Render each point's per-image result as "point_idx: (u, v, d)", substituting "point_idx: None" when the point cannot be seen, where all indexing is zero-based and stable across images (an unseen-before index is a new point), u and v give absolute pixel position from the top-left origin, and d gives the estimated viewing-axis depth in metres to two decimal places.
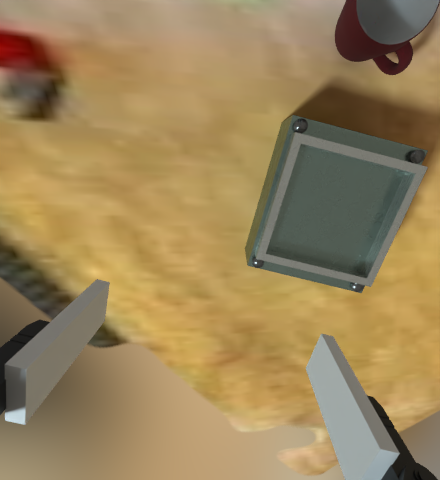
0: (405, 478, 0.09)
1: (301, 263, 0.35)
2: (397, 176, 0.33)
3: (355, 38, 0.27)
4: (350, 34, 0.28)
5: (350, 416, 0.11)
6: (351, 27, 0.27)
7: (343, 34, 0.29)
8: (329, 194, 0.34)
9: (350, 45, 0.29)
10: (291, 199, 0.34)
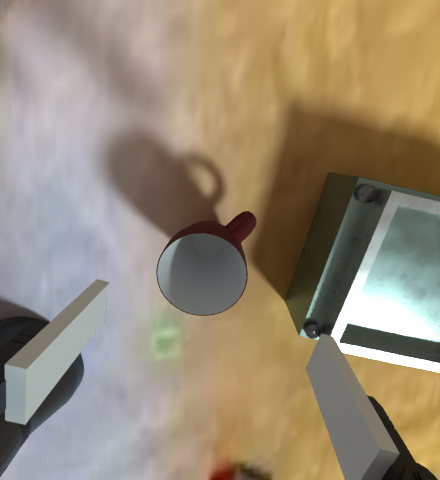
0: (405, 478, 0.09)
1: None
2: None
3: None
4: None
5: (350, 416, 0.11)
6: None
7: None
8: (397, 289, 0.26)
9: None
10: (396, 330, 0.28)
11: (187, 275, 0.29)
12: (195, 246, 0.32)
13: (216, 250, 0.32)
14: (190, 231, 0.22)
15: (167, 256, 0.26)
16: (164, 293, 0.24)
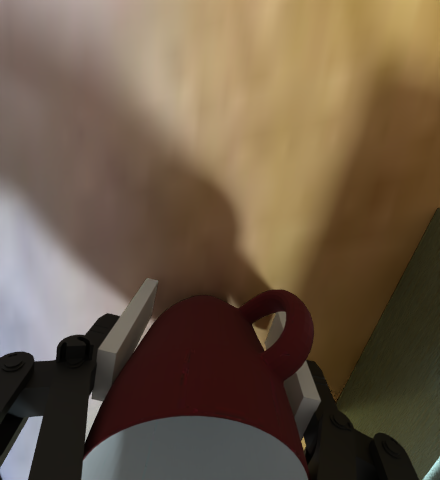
0: (323, 424, 0.10)
1: None
2: None
3: None
4: None
5: None
6: None
7: None
8: None
9: None
10: None
11: None
12: None
13: None
14: (162, 394, 0.08)
15: None
16: None
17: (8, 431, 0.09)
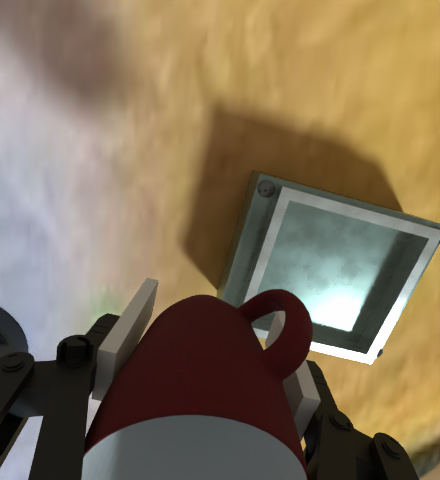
0: (323, 424, 0.10)
1: (388, 317, 0.28)
2: (288, 205, 0.26)
3: None
4: None
5: None
6: None
7: None
8: (302, 279, 0.29)
9: None
10: None
11: None
12: None
13: None
14: (161, 393, 0.08)
15: None
16: None
17: (8, 431, 0.09)
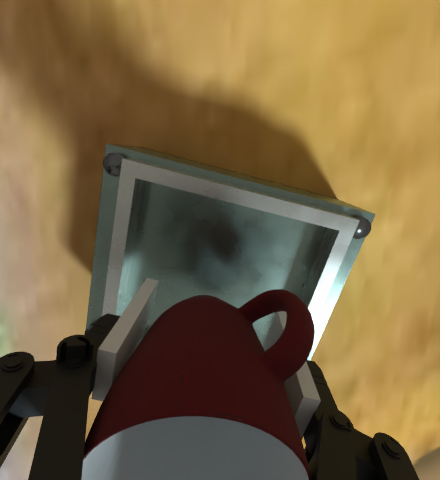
0: (323, 424, 0.10)
1: None
2: (152, 187, 0.19)
3: None
4: None
5: None
6: None
7: None
8: (187, 286, 0.22)
9: None
10: None
11: None
12: None
13: None
14: (162, 394, 0.08)
15: None
16: None
17: (8, 431, 0.09)
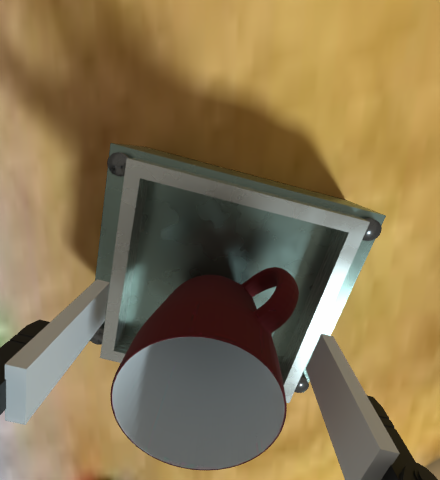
0: (405, 478, 0.09)
1: (303, 342, 0.20)
2: (157, 187, 0.19)
3: None
4: None
5: (350, 416, 0.11)
6: None
7: None
8: None
9: None
10: None
11: (176, 362, 0.18)
12: None
13: None
14: (178, 325, 0.11)
15: None
16: (126, 429, 0.13)
17: None
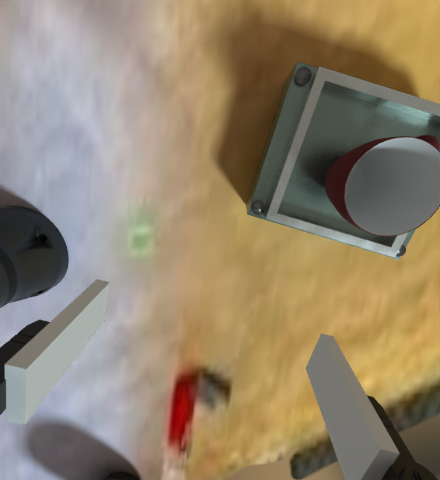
0: (405, 478, 0.09)
1: None
2: (322, 94, 0.28)
3: None
4: None
5: (350, 416, 0.11)
6: None
7: None
8: None
9: None
10: (330, 213, 0.32)
11: None
12: None
13: (354, 189, 0.31)
14: (390, 137, 0.21)
15: None
16: (346, 207, 0.22)
17: None
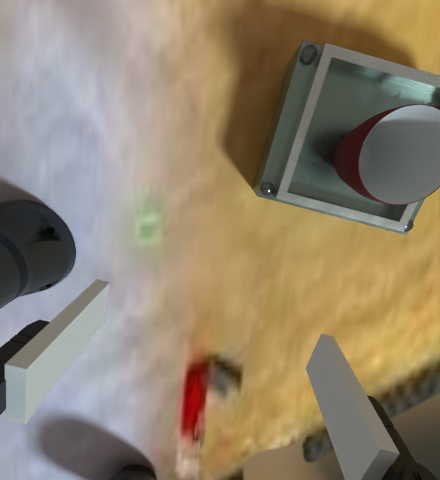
0: (405, 478, 0.09)
1: None
2: (328, 72, 0.29)
3: None
4: None
5: (350, 416, 0.11)
6: None
7: None
8: None
9: None
10: (339, 191, 0.32)
11: None
12: None
13: (361, 166, 0.31)
14: (402, 106, 0.21)
15: None
16: (360, 178, 0.22)
17: None
